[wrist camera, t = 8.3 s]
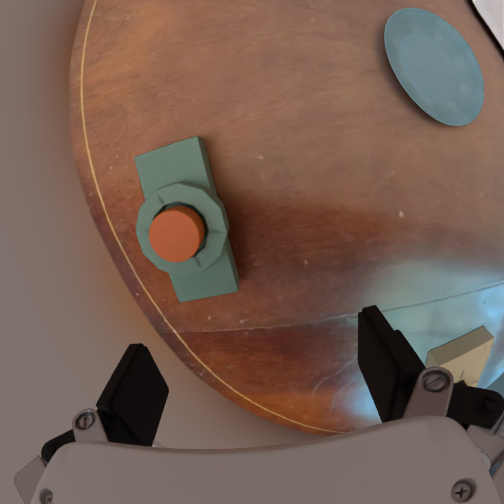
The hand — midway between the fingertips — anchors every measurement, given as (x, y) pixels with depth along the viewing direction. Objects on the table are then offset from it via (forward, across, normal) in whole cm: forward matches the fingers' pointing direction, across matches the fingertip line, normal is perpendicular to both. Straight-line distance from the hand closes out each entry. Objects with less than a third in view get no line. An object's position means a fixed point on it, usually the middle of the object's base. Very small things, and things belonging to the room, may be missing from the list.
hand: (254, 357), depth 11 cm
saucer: (+13, -20, -15) cm, 28 cm away
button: (+9, +4, -4) cm, 11 cm away
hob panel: (+12, -23, +22) cm, 34 cm away
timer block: (+12, +4, -4) cm, 14 cm away
